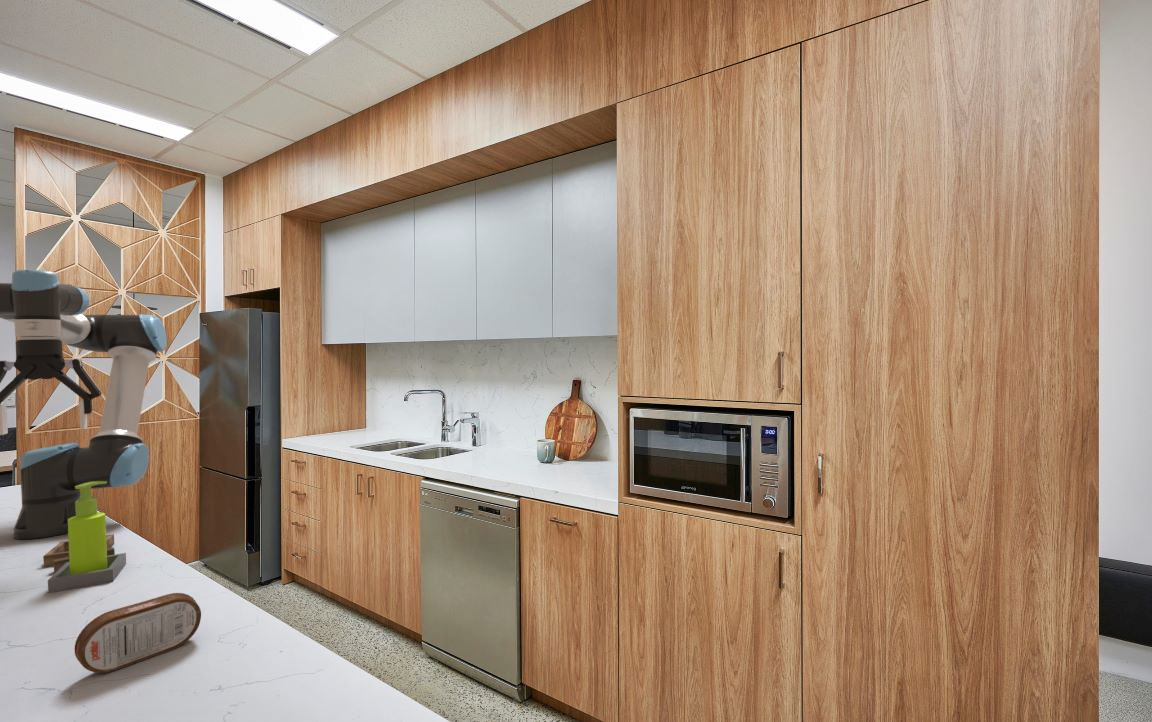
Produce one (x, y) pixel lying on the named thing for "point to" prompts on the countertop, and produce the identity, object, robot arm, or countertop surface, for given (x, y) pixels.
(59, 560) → the door edge rail
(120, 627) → the tin
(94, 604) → the countertop surface
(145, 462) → the robot arm
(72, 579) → the keeper frame
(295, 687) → the countertop surface
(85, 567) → the soap dispenser
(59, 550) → the walnut holder
